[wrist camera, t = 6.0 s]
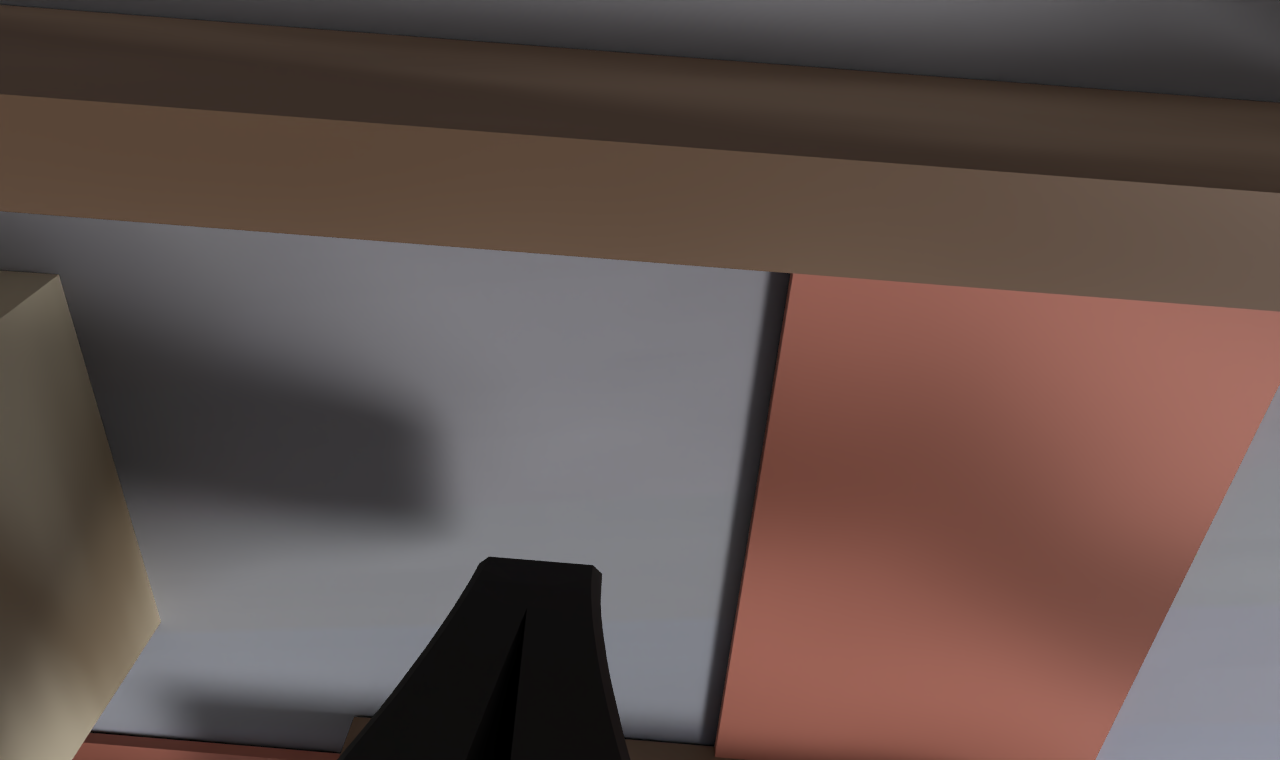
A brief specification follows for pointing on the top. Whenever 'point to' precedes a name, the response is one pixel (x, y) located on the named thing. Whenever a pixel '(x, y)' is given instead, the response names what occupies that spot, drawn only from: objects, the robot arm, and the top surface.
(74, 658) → the birch block
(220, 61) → the channel
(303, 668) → the top surface
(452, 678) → the robot arm
